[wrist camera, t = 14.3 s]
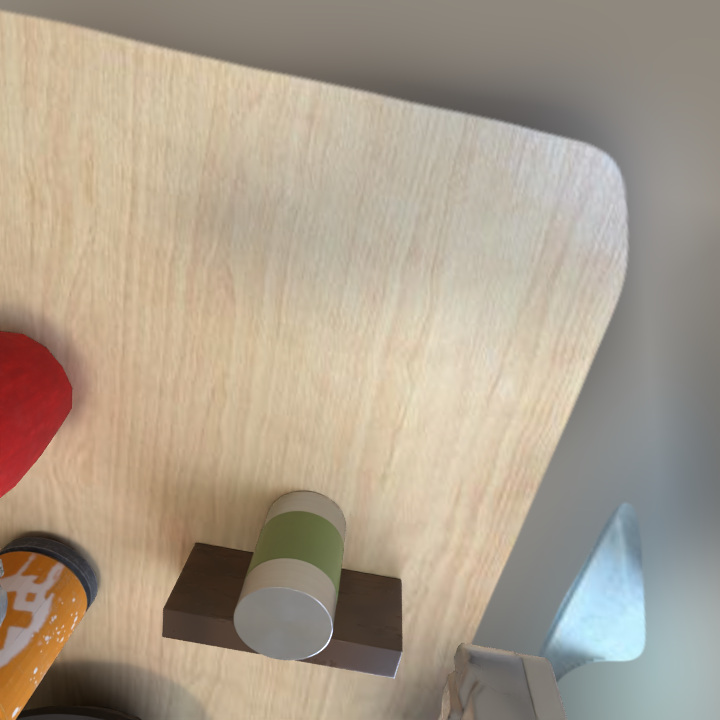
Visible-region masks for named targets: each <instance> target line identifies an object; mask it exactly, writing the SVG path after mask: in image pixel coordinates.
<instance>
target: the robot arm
mask: <svg viewBox="0 0 720 720" xmlns="http://www.w3.org/2000/svg"><path fill="white" fill-rule="evenodd" d="M3 574H4V569H3V564H2V559H0V578H1V577H2V576H3ZM7 606H8V599H7V592H6V591H5V590H4V589H3V587H2V586H1V585H0V627H1V625H2V623H3V621H4V618H5V616H6V611H7ZM454 660H455V671H453V672H451V673H450V674H448V677H447V680H446V683H445V686H444V692H443V699H442V720H567V717H566V713H565V710H564V706H563V703H562V700H561V696H560V693H559V690H558V686H557V682H556V679H555V675H554V672H553V669H552V665H551V663H550V662H549V661H548V659H547V658H541V657H536V656H530V655H524V654H520V653H518V654H517V653H516V652H512V651H506V650H499V649H494V648H488V647H482V646H476V645H471V644H465V643H461V644H460V645H459V646H458V648H457V651H456V654H455V656H454Z"/></svg>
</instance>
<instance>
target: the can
mask: <svg viewBox="0 0 720 720" xmlns="http://www.w3.org/2000/svg"><path fill="white" fill-rule="evenodd" d="M345 531H346V522H345V518H344V515H343V513H342V511H341V510H340V509H339V507H338V506H337V505H336V504H335V503H334V502H333V501H331V500H330V499H328V498H327V497H325V496H323V495H320V494H318V493H314V492H307V491H299V492H293V493H289V494H286V495H284V496H282V497H281V498H279V499H278V500H277V501H275V502H274V504H273V505H272V506H271V508H270V509H269V512H268V515H267V517H266V520H265V523H264V526H263V529H262V531H261V533H260V536H259V539H258V542H257V545H256V548H255V551H254V554H253V556H252V559H251V562H250V565H249V568H248V571H247V574H246V577H245V580H244V584H243V588H242V591H241V594H240V597H239V600H238V603H237V606H236V608H235V612H234V626H235V629H236V631H237V633H238V635H239V637H240V638H241V639H242V640H243V642H244V643H245V644H246V645H248V646H249V647H250V648H251V649H253V650H254V651H256V652H258V653H260V654H262V655H264V656H267V657H270V658H274V659H279V660H299V659H304V658H308V657H310V656H313V655H315V654H317V653H318V652H320V651H321V650H322V649H323V648H324V647H325V646H326V645H327V644H328V642H329V641H330V639H331V636H332V633H333V625H334V617H335V609H336V604H337V599H338V591H339V583H340V575H341V567H342V559H343V551H344V539H345Z"/></svg>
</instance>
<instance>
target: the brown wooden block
mask: <svg viewBox="0 0 720 720" xmlns="http://www.w3.org/2000/svg"><path fill="white" fill-rule="evenodd" d="M253 554H254V553H250V552H244V551H238V550H233V549H227V548H222V547H216V546H211V545H205V544H200V543H196V544H195V546H194V548H193V550H192V552H191V554H190V556H189V558H188V560H187V562H186V564H185V566H184V568H183V570H182V572H181V574H180V576H179V578H178V580H177V582H176V584H175V586H174V588H173V590H172V592H171V594H170V596H169V598H168V600H167V602H166V604H165V606H164V608H163V632H162V636H163V637H166V638H172V639H178V640H183V641H189V642H194V643H200V644H206V645H211V646H217V647H222V648H228V649H234V650H239V651H245V652H250V653H256V654H260V653H258V652H256V651H254V650H253V649H251V648H250V647H249V646H248V645H246V644H245V643H244V642H243V640H242V639H241V638H240V637H239V635H238V633H237V631H236V629H235V626H234V612H235V608H236V606H237V603H238V600H239V597H240V594H241V591H242V588H243V584H244V580H245V577H246V574H247V571H248V568H249V565H250V562H251V559H252V556H253ZM401 655H402V581H401V580H399V579H394V578H388V577H383V576H377V575H372V574H366V573H360V572H355V571H349V570H344V569H341V575H340V583H339V591H338V599H337V604H336V609H335V617H334V625H333V633H332V636H331V639H330V641H329V642H328V644H327V645H326V646H325V647H324V648H323V649H322V650H321V651H320V652H318V653H317V654H315V655H313V656H310V657H308V658H304V659H299V660H295V661H301V662H307V663H312V664H318V665H323V666H329V667H335V668H340V669H346V670H351V671H357V672H363V673H368V674H374V675H379V676H385V677H391V678H395V675H396V672H397V669H398V665H399V662H400V658H401Z"/></svg>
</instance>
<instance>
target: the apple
mask: <svg viewBox="0 0 720 720" xmlns="http://www.w3.org/2000/svg"><path fill="white" fill-rule="evenodd" d="M71 409H72V386H71V384H70V382H69V380H68V378H67V376H66V373H65V371H64V369H63V367H62V366H61V365H60V363H59V362H58V361H57V360H56V359H55V358H54V356H53V355H52V354H51V353H50V352H49V350H48V349H47V348H46V347H44V346H43V345H41V344H39V343H38V342H36V341H34V340H33V339H31V338H29V337H27V336H26V335H24V334H19V333H11V332H3V331H0V498H1V497H2V496H3V495H4V494H6V493H7V492H8V491H10V490H11V489H12V488H13V487H15V486H16V484H17V483H18V482H19V481H20V480H21V478H22V477H23V476H24V475H25V474H26V473H27V471H28V470H29V469H30V468H31V467H32V465H33V464H34V463H35V462H36V461H37V460H38V458H39V457H40V456H41V455H42V453H43V452H44V450H45V449H46V447H47V446H48V444H49V443H50V441H51V440H52V438H53V437H54V435H55V434H56V432H57V431H58V429H59V428H60V426H61V425H62V423H63V422H64V420H65V418H66V417H67V415H68V414H69V412H70V410H71Z"/></svg>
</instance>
